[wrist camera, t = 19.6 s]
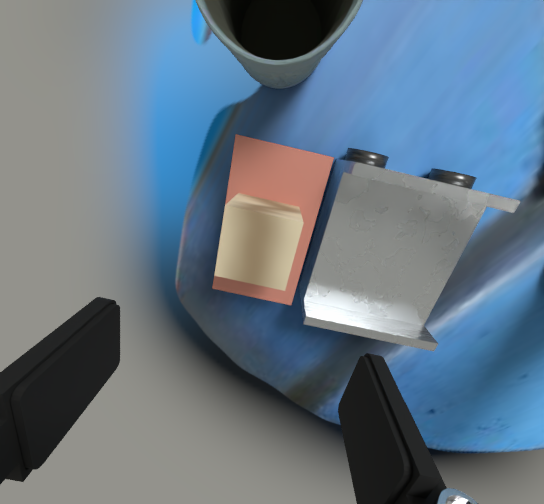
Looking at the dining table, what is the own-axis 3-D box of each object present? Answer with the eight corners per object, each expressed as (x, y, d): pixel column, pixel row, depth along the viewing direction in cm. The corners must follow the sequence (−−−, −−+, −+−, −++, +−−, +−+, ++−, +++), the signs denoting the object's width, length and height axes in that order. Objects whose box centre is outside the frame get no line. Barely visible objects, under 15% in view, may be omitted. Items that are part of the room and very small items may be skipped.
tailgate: (334, 157, 23) (235, 134, 23) (291, 305, 29) (212, 288, 29) (331, 157, 25) (238, 135, 24) (290, 298, 30) (215, 282, 30)
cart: (463, 176, 28) (529, 186, 21) (397, 315, 35) (428, 359, 27) (339, 147, 28) (360, 145, 20) (296, 293, 34) (300, 333, 27)
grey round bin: (305, -62, 22) (329, -285, 11) (352, 63, 25) (410, -8, 14) (206, 15, 24) (140, -105, 13) (261, 121, 27) (246, 100, 16)
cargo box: (299, 206, 25) (303, 222, 19) (284, 262, 27) (285, 290, 22) (238, 192, 25) (225, 205, 19) (228, 249, 27) (214, 275, 21)
